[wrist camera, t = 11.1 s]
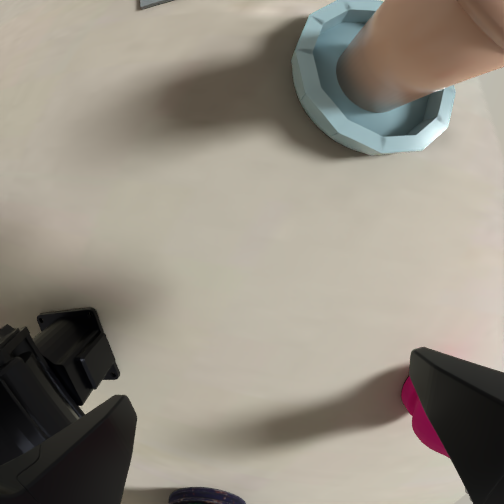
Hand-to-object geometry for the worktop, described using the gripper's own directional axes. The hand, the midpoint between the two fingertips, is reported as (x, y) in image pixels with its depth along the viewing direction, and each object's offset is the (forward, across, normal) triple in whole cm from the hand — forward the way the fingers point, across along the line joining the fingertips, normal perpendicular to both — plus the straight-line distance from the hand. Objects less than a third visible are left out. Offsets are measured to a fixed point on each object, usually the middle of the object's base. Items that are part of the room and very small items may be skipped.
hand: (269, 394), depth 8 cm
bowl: (+13, -10, -12) cm, 20 cm away
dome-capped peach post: (+12, -10, -12) cm, 20 cm away
